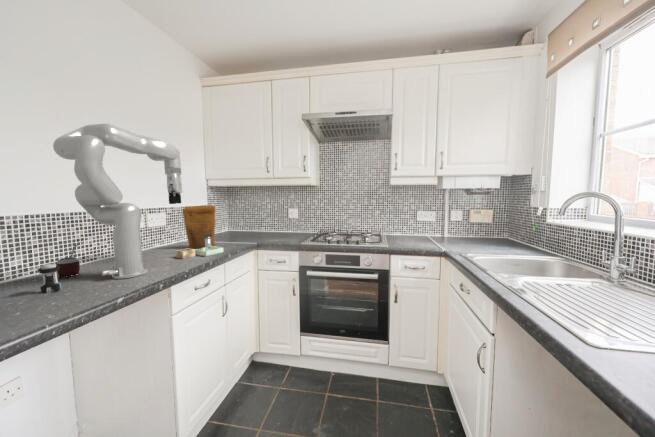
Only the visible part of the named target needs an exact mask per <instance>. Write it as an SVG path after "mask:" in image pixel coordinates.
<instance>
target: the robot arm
mask: <svg viewBox="0 0 655 437" xmlns="http://www.w3.org/2000/svg"><path fill="white" fill-rule="evenodd" d="M52 147H53V151H54V152H55V154H57V155H58V156H59V157H60V158H62V159H64V160H65V159H66V160H69V161H70V160H71V161H72V160H73V161H74V167H73V170H74V175H75V177H76V178H77V179H78V181H79V182H80V184H79V185H77V186H76V188H75V190H74V197H75V200H76V202H77V203H78V204H79V206H81V207H82V208H83V209H84V210H85V212H87V213H88V215H90V217H92V218H93V219H94V220H95V221H96V222H97V223H100V224H101V225H103V226H104V225H106V226H115V227H114V229H113V232H112V243H113V252H114V254H113V255H114V263H115V265H114V266H112V268H111V269H108V270H107V269H106V270H104V271H103V270H102V271H101V276H102V277H103V276H104V277H105V276H111V278H112V279H114V280H117V279H118V280H120V279H121V280H122V279H131V278H136V277H140V276H142V275H145V274H147V273H148V271H149V270H148V268H145V267H144V259H143V249H142V239H141V221H142V211H141V208H140V207H139V206H137V204H134V203H130V202H122V200H123V199H124V198H123V197H124V196H123V193H122V191H121V190H120V188H119V187H118V186H117V184H116V183H115V182H114V180H113V179H112V178H111V177H110V176H109V174H107V172H106V170H105V169H104V165H103V161H104V156H105V152H106V148H105V147H111V148H116V149H118V150H122V151H126V152H128V153H131V154H137V155H138V154H139V155H146V156H147V157H148V158H149V160H152V161H155V162H158V161H159V162H160V161H161V162H163V164H164V174H165V175H166V187H167V188H166V189H167V192H168V203H169V205H176V204H182V195H181V194H182V193H183V187H182V178H181V175H182V166H181V152H180V150H179V149H178V148H177V147H176V146H175V145H173V144H172V143H170V142H167V141H164V140H161V139H157V138H153V137H149V136H144V135H140V134H137V133H133V132H131V131H129V130H127V129H126V130H125V129H124V128H121V127H119V126H116V125H114V124H110V123H96V124H95V123H94V124H88V125H87V124H86V125H84V126H81V127H78V128H77V129H75V130H73V131H70V132H68V133H64V134H63V135H60V136H59V137H57V138H56V139H55V140H54V142H53V144H52Z"/></svg>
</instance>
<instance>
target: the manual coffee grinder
mask: <svg viewBox="0 0 655 437" xmlns="http://www.w3.org/2000/svg"><path fill="white" fill-rule="evenodd" d="M81 242H82V241H81ZM81 242H78V243H77V244H75V245H74V246H73V247H72V251H71V254H70V257H63V258H60V259H58V260H57V262H56V266H59V270H58V271H57V275H59V277H58V279H61V278H60V277H65V278H67V277H66V276H69V277H72V276H71V275H76V274H79V275H80V267H81V265H80V261H79V259H78V258H77V257H73V256H74V252H75V250H76V248H77V246H79V245H80V244H81ZM76 276H77V275H76ZM69 277H68V278H69Z"/></svg>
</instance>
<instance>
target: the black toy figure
mask: <svg viewBox="0 0 655 437" xmlns="http://www.w3.org/2000/svg"><path fill="white" fill-rule="evenodd" d="M56 265H57V263H47V264H42V265H41V267H39V268H37V271H38V273H39V274H40V275H42V281H43V283H42V286H40V287H39V288H36V289H35V290H36V293H41V294H47V293H48V294H49V293H56V292H57V293H58V292H60V291H61V290H62V285H61V282H59V281H58V272H57V271H58V270H59V266H56Z"/></svg>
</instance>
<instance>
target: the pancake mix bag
mask: <svg viewBox="0 0 655 437" xmlns="http://www.w3.org/2000/svg"><path fill="white" fill-rule="evenodd" d="M182 217H183V223H184V229H185V233H186V237H187V241H188V248H190V249H199V248H204V247H205V237H211V246H215V247H217V245H216V243H215V242H216V241H215V235H216V234H215V230H216V229H215V227H216V206H215V205H197V206H184V208H182Z"/></svg>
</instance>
